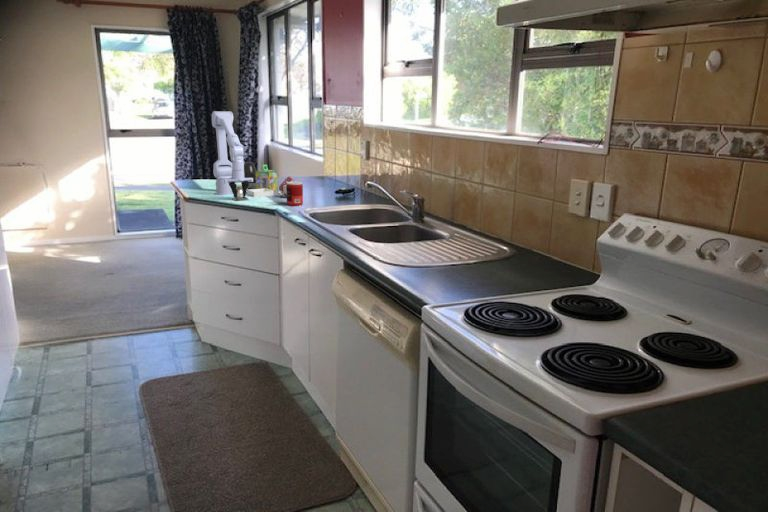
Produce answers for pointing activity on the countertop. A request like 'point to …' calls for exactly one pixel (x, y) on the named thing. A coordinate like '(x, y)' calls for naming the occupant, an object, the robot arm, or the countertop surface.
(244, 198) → the socket seat
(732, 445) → the countertop surface
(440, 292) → the countertop surface
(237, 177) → the robot arm
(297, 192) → the canned food
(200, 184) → the countertop surface
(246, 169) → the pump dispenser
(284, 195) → the brake caliper
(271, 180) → the chalk box
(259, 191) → the parts tray
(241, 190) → the silver cylinder copper tab
